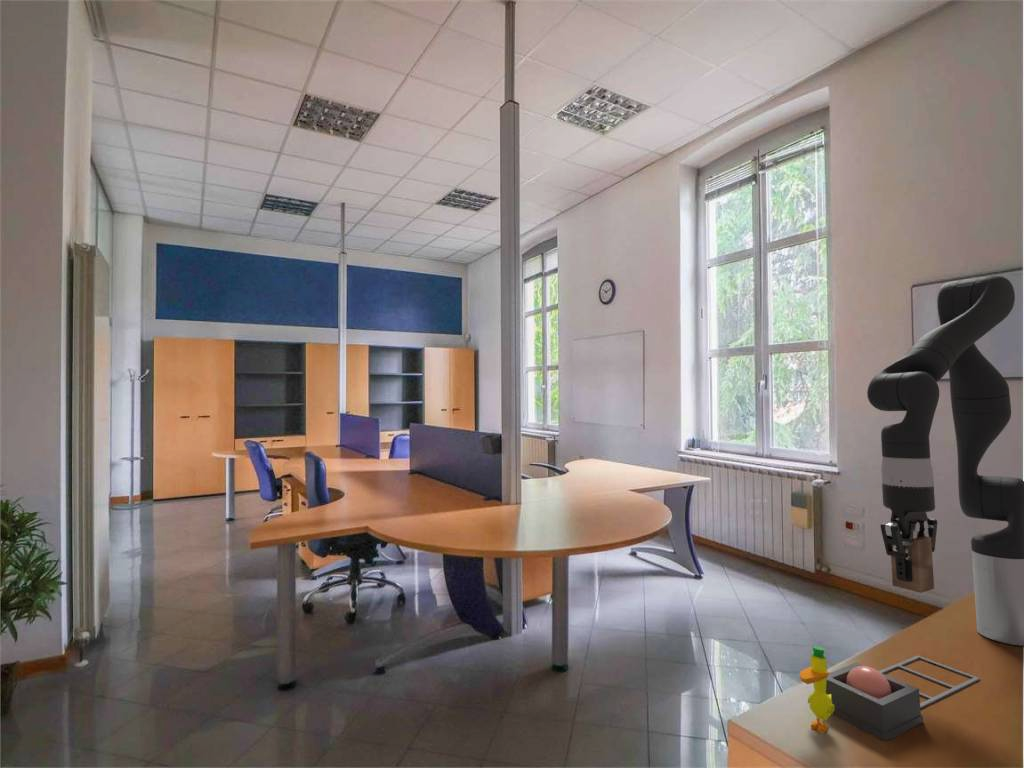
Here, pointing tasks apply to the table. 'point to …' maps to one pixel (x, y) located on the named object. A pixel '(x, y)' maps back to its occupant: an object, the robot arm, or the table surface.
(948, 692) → the frame
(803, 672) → the toy figure
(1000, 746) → the table surface
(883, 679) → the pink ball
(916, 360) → the robot arm
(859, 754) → the table surface
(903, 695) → the housing
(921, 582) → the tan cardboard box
